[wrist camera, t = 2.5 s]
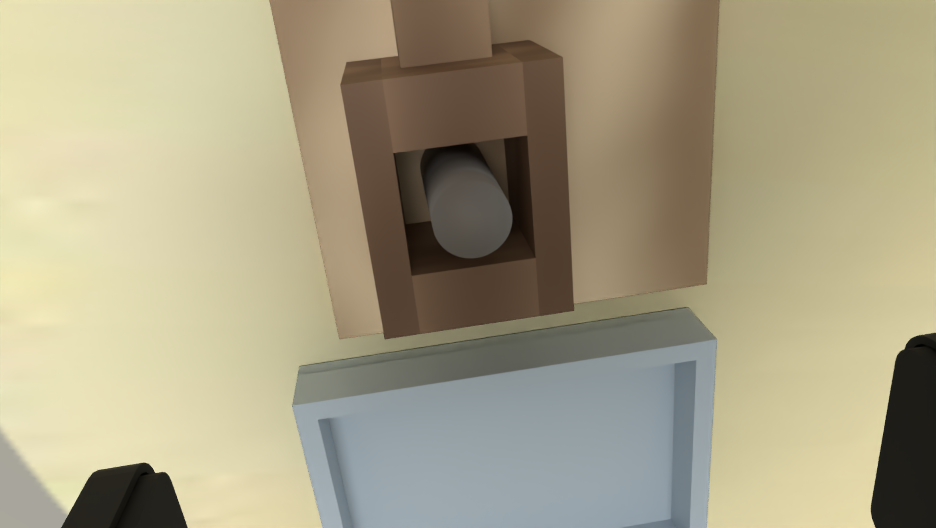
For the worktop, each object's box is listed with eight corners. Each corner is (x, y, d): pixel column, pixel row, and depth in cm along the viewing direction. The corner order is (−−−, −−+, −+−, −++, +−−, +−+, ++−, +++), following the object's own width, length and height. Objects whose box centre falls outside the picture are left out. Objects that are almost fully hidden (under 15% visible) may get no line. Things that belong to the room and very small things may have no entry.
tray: (688, 307, 26) (716, 339, 24) (681, 518, 30) (705, 561, 28) (299, 366, 25) (292, 406, 23) (349, 575, 29) (347, 625, 27)
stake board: (712, -132, 20) (834, -165, 15) (697, 274, 25) (782, 358, 20) (256, -84, 19) (211, -100, 14) (340, 327, 24) (331, 429, 19)
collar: (522, -73, 19) (557, -81, 16) (542, 255, 23) (573, 310, 20) (327, -52, 19) (315, -54, 15) (383, 279, 23) (384, 339, 19)
